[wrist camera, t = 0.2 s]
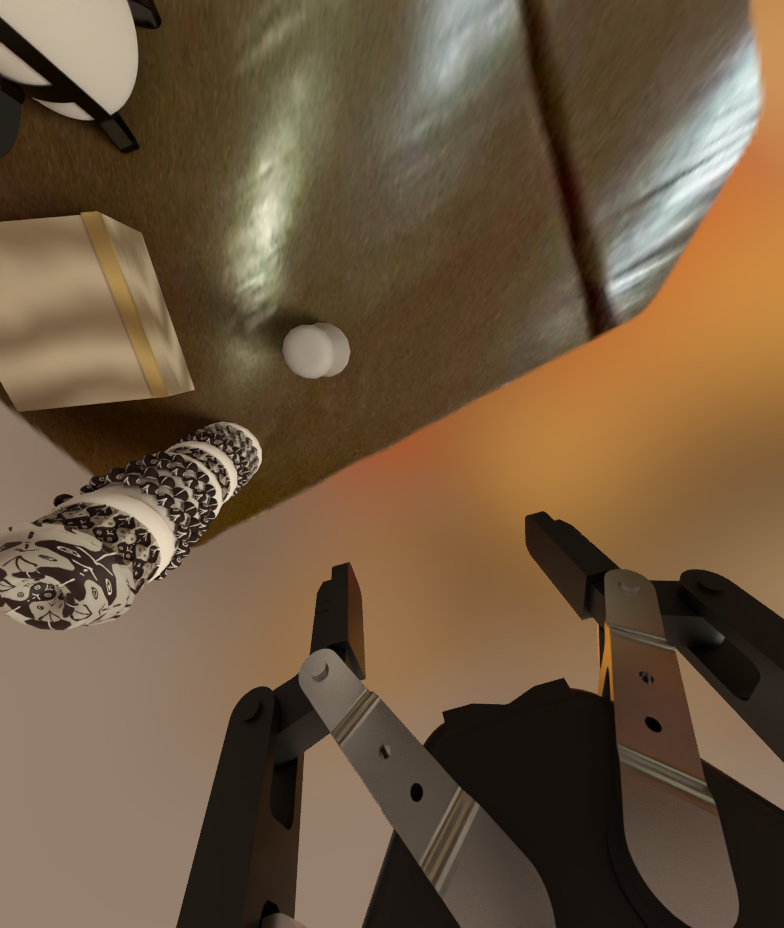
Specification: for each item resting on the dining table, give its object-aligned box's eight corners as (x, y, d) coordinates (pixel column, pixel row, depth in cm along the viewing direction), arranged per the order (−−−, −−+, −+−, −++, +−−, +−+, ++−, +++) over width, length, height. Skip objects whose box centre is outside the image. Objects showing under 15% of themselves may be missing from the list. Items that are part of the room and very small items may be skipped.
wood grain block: (-18, 247, 30) (-95, 227, 25) (141, 232, 31) (96, 211, 26) (62, 403, 36) (13, 412, 31) (194, 389, 37) (167, 396, 32)
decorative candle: (222, 492, 42) (43, 672, 19) (178, 436, 39) (-105, 573, 16) (278, 466, 41) (161, 622, 18) (238, 407, 38) (31, 505, 15)
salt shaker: (317, 382, 37) (292, 400, 25) (293, 336, 35) (254, 332, 23) (359, 362, 37) (354, 371, 25) (338, 315, 35) (321, 300, 23)
